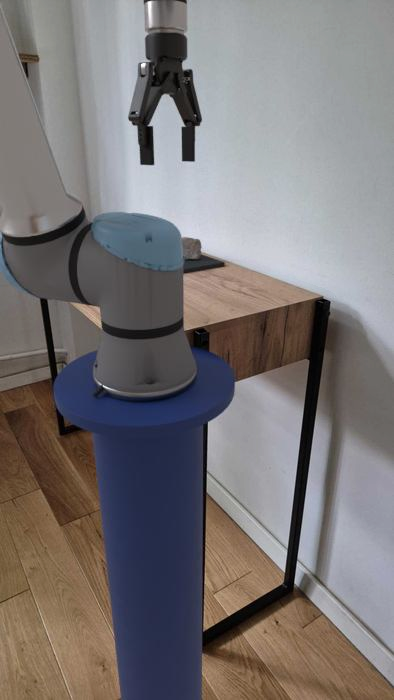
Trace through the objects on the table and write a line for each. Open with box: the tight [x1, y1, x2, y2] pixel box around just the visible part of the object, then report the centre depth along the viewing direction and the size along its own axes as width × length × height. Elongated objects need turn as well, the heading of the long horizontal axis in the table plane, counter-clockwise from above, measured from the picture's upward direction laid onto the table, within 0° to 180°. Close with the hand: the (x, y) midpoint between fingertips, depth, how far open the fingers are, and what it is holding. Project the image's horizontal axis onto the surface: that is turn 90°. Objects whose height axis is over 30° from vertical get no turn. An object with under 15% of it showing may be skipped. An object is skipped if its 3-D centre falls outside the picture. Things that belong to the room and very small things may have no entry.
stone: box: [182, 236, 203, 260], centre depth 130 cm, size 10×8×6 cm
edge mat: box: [183, 253, 226, 274], centre depth 131 cm, size 20×14×1 cm
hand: (169, 163), depth 94 cm, fingers open, 13 cm apart
